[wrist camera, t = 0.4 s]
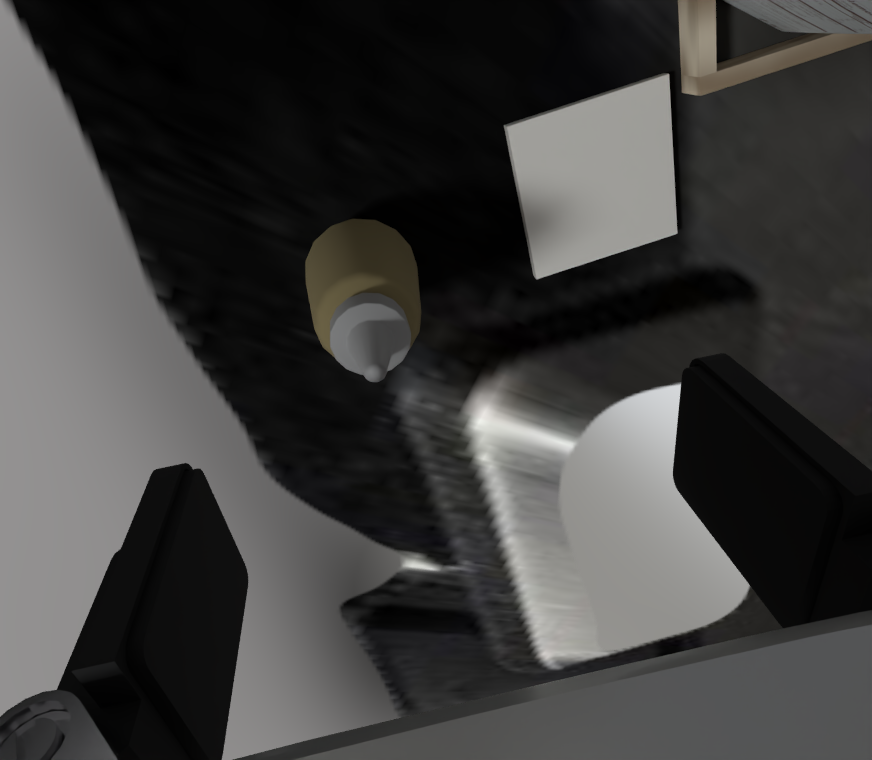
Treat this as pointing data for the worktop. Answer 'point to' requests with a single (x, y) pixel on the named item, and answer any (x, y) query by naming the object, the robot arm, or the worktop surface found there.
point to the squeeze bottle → (364, 295)
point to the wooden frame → (711, 76)
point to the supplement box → (811, 15)
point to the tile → (595, 175)
